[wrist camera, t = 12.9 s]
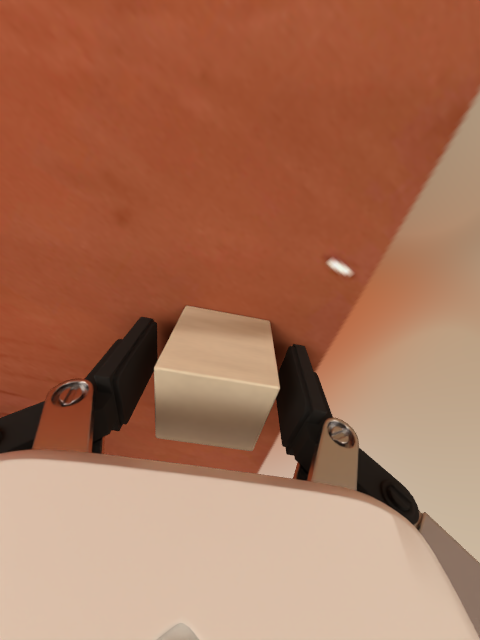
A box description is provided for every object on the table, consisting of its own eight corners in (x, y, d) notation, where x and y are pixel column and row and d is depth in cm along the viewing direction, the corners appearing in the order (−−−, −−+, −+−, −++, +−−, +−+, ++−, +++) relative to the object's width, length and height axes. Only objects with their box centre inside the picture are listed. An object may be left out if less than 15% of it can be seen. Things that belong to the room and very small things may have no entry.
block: (185, 304, 11) (152, 367, 7) (270, 320, 11) (281, 388, 8) (181, 366, 13) (154, 438, 10) (251, 378, 14) (252, 452, 10)
